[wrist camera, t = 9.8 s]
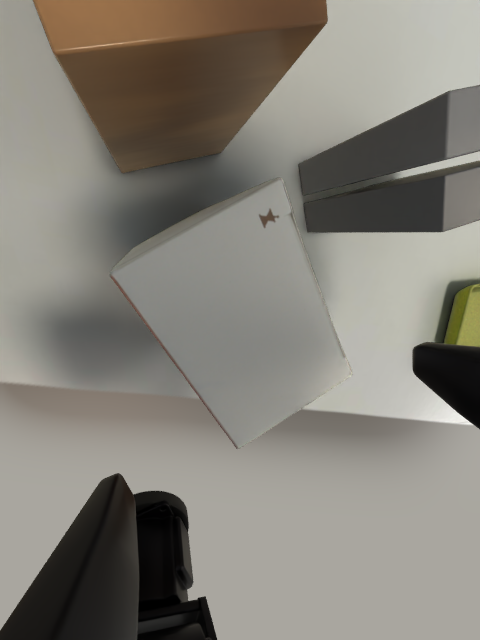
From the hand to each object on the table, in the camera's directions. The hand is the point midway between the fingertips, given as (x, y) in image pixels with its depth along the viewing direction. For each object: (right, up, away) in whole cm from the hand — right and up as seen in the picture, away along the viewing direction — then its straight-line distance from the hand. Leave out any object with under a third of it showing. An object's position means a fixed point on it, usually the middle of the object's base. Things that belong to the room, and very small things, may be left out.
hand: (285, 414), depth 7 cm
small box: (-4, +5, +11) cm, 13 cm away
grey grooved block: (+7, +12, +12) cm, 18 cm away
